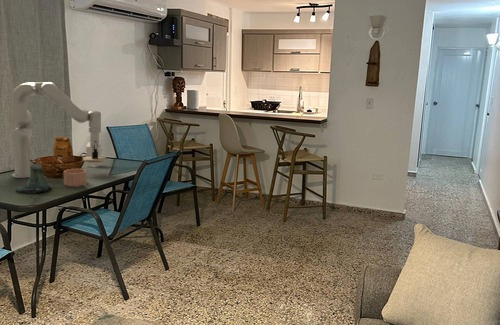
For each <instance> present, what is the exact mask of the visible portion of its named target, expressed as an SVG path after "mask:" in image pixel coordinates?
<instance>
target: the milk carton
mask: <svg viewBox="0 0 500 325" xmlns="http://www.w3.org/2000/svg"><path fill="white" fill-rule="evenodd" d="M101 146H102V145H101V144H99V147H98V156H100V157H102V153H101V152H102V150H101V149H102V148H101ZM85 147H86V149H85V150H86V153H85V154H86V157H89V156H92V148H91V147H90V139H89V141H88V143H87V144H86V146H85ZM101 166H102V162H86V167H89V168H97V167H101Z"/></svg>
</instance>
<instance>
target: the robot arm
mask: <svg viewBox="0 0 500 325" xmlns="http://www.w3.org/2000/svg"><path fill="white" fill-rule="evenodd" d="M36 96H37V97H39V96H44V97H46V98H48V99H49V100H50V101H51V102H53V103H54V104H55V105H57V107H59V108H60V109H61V110H63V111H64V113H66V115H68V116H69V117H70V118H72V119H73V120H75V121H76V122H77V123H80V124H84V123H85V122H88V133H89V137H90V138H89V140H90V147H91V148H92V151H93V158H98V147H99V145H100V133H102V113H101V112H100V111H99V110H86V109H80V108H79V107H78V106H77V105H76V104H74V102H73V101H72V100H71V98H70V96H68V95H67V94H66V93H64V92H63V91H62V90H60V88H58V86H57V85H56V84H55V83H54V82H50V81H48V82H47V81H46V82H24V83H20V84H19V85H18V86H16V87H15V88H14V90H13V92H12V96H11V107H12V108H11V111H12V114H11V115H12V116H11V117H12V122H13V123H14V124H15V126H16V128H14V129H13V131H12V132H11V143H12V150H13V162H14V163H13V164H14V165H13V166H14V173H12V177H13V178H17V179H24V178H30V171H31V170H30V166H31V165H32V159H31V158H32V157H31V146H30V145H31V144H30V139H31V138H32V136H33V134H34V133H33V131H34V130H33V115H32V113H31V112H30V111H29V110H28V99H29V98H30V97H36ZM30 160H31V161H30Z"/></svg>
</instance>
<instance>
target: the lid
mask: <svg viewBox="0 0 500 325" xmlns="http://www.w3.org/2000/svg"><path fill="white" fill-rule="evenodd" d="M107 160H108V159H107V157H105V156H101V157H100V156H98V158H93V151H92V156H89V157H87V156H85V157H82V161H83V162H85V163H87V162H101V163H104V162H107Z"/></svg>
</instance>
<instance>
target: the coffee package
mask: <svg viewBox="0 0 500 325" xmlns="http://www.w3.org/2000/svg"><path fill="white" fill-rule="evenodd" d="M54 139H55V141H54V145H53V150H52V151H53V157H54V156H60V157H69V156H73V157H74V151H73V146H72V143H71V139H70V137H63V136H55V137H54Z"/></svg>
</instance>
